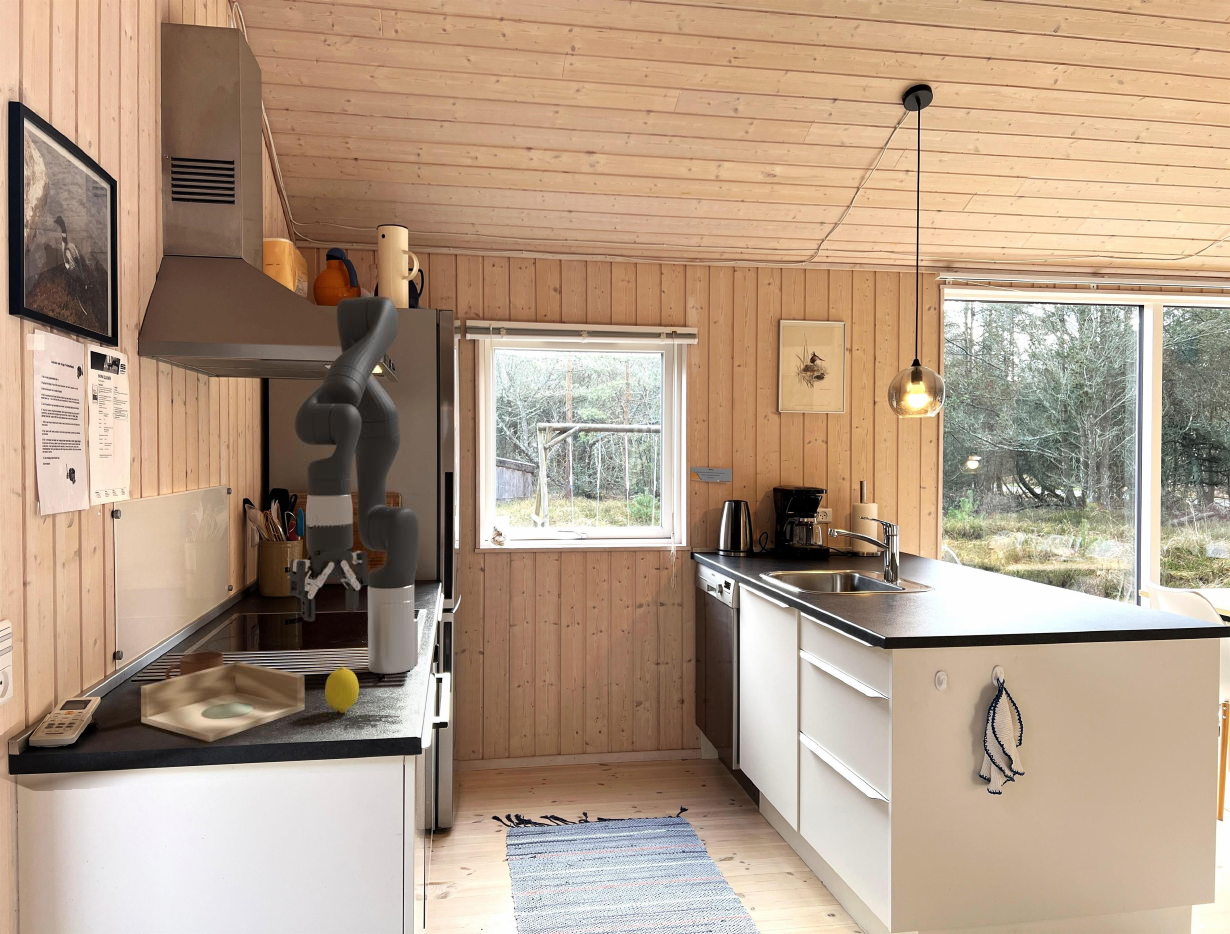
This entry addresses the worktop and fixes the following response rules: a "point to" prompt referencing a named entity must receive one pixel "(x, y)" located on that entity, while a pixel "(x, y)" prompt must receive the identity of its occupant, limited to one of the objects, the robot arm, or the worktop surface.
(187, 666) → the cup and saucer
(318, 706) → the worktop surface
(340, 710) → the lemon
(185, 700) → the tray
